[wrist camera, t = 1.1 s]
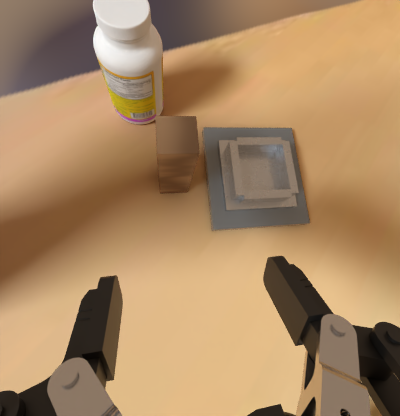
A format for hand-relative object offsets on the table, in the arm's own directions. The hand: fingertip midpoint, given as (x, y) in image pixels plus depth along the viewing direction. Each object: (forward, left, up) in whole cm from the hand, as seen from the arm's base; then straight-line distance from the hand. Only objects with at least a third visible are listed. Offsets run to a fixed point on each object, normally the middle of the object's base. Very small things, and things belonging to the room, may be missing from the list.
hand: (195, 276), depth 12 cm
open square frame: (+11, +11, -15) cm, 22 cm away
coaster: (+11, +11, -16) cm, 22 cm away
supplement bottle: (-4, +22, -16) cm, 28 cm away
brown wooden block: (0, +11, -16) cm, 19 cm away
